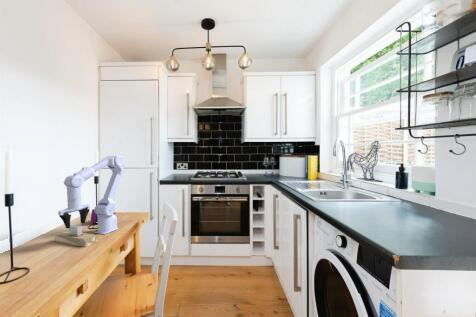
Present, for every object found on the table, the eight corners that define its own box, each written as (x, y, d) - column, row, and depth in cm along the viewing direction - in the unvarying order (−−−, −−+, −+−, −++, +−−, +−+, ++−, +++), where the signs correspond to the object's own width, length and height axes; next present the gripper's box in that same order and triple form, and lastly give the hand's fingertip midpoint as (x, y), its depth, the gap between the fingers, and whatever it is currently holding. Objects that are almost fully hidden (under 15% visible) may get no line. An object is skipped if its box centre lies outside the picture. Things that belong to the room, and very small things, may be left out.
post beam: (68, 237, 125) (67, 230, 125) (97, 241, 118) (97, 235, 117) (55, 241, 119) (54, 234, 119) (85, 246, 112) (85, 239, 111)
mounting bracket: (101, 227, 160) (89, 223, 144) (102, 214, 164) (92, 209, 147) (115, 226, 162) (106, 221, 146) (117, 213, 165) (108, 208, 149)
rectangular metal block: (74, 240, 121) (73, 224, 120) (82, 241, 118) (81, 226, 118) (69, 242, 118) (69, 226, 118) (77, 243, 116) (77, 227, 116)
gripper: (82, 195, 126) (84, 220, 126) (53, 201, 112) (54, 229, 113) (92, 196, 123) (93, 221, 124) (63, 202, 110) (64, 231, 110)
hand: (75, 225), depth 118 cm, fingers open, 7 cm apart
